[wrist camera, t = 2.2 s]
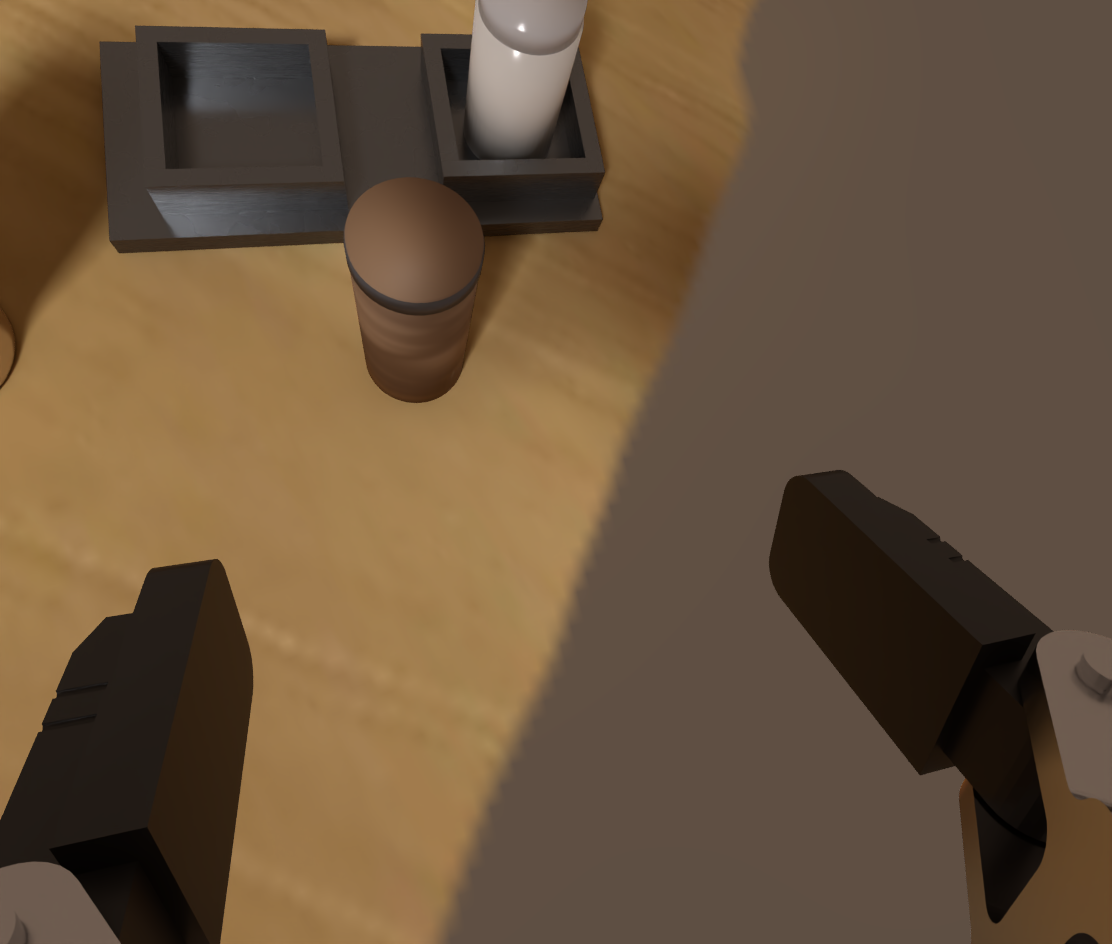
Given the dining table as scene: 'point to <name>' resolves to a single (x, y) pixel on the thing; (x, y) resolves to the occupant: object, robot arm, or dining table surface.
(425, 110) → the condiment caddy
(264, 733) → the dining table surface
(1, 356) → the beer glass
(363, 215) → the brown wooden cylinder
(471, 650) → the dining table surface
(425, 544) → the dining table surface
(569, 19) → the salt shaker
